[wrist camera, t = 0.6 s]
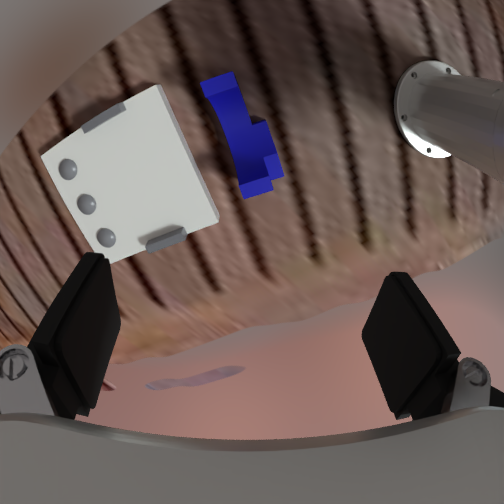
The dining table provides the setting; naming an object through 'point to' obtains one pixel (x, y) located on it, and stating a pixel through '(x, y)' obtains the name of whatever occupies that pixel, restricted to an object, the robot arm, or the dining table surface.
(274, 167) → the cable clip
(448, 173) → the dining table surface
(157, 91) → the white square board
